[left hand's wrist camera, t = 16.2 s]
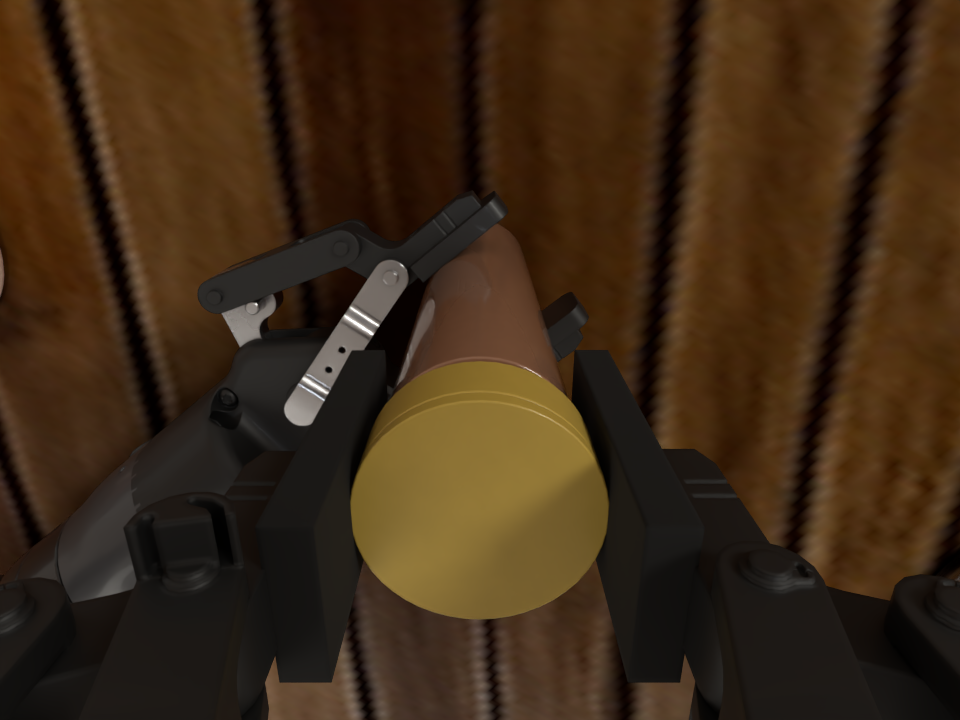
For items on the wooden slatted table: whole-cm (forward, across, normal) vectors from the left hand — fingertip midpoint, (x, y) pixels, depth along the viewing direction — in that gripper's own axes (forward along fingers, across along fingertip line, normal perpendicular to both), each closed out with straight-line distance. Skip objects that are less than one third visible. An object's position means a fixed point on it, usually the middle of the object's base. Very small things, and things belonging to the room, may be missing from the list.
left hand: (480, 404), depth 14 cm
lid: (-4, 0, 0) cm, 4 cm away
